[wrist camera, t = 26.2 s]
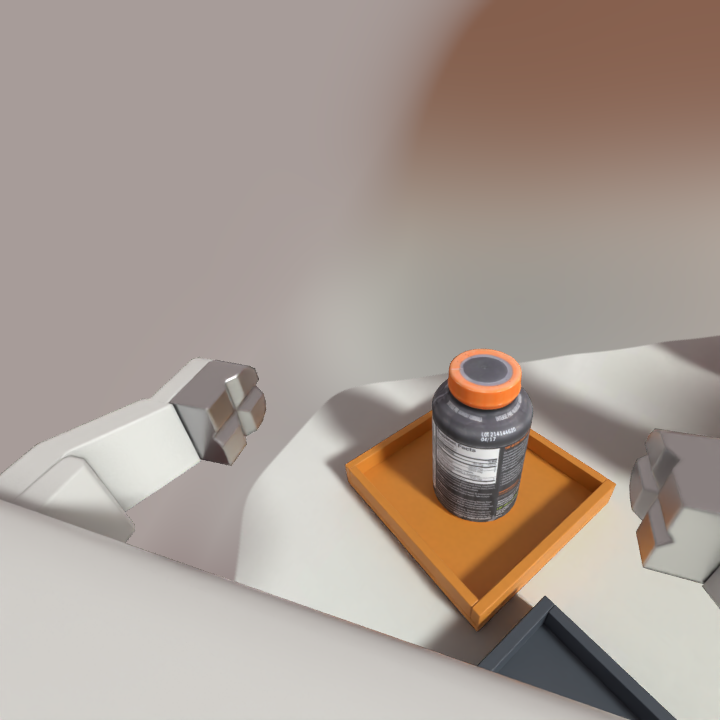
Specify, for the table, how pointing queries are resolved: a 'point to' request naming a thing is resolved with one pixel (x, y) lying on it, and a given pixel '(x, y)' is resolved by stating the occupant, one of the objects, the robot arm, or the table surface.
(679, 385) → the table surface
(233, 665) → the robot arm
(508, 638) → the slate tray
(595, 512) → the amber tray
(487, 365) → the pill bottle
